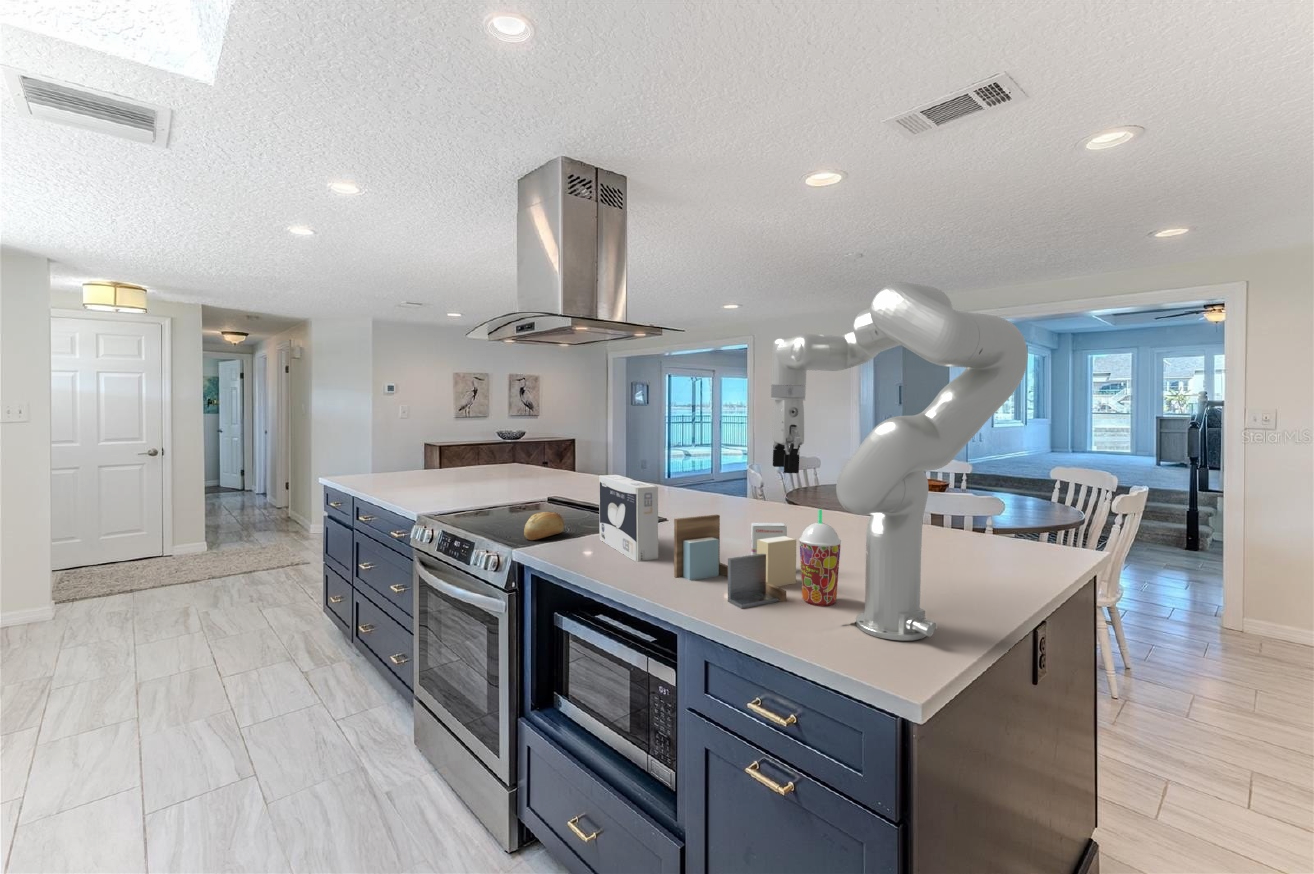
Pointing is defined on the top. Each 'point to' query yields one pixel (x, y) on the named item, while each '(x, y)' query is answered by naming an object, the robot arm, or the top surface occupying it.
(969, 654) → the top surface
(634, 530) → the packaging
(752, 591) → the bookend
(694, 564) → the teal book
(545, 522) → the bread roll
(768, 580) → the tan book
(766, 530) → the ink box
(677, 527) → the shelf
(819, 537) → the smoothie
